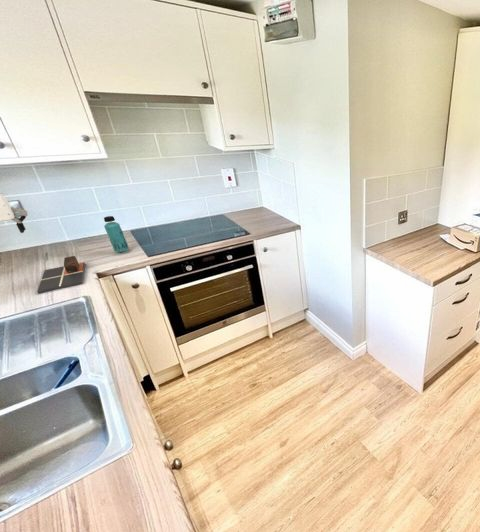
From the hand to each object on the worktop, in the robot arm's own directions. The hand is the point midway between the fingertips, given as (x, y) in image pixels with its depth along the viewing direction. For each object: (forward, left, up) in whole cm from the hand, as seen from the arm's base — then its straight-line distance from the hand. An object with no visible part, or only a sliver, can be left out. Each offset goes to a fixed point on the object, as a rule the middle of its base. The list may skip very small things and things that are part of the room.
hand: (5, 234), depth 129 cm
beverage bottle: (+31, +23, -25) cm, 46 cm away
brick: (+12, +9, -24) cm, 28 cm away
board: (+9, +4, -25) cm, 27 cm away
